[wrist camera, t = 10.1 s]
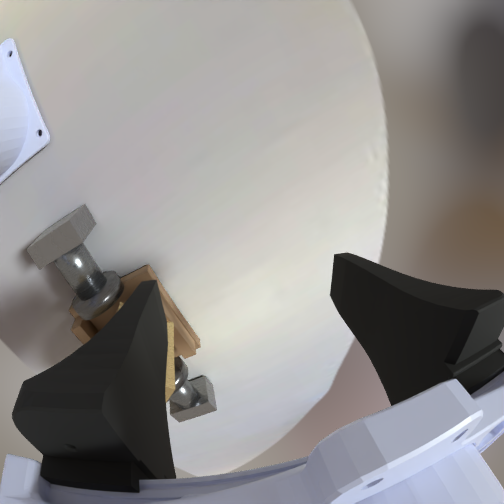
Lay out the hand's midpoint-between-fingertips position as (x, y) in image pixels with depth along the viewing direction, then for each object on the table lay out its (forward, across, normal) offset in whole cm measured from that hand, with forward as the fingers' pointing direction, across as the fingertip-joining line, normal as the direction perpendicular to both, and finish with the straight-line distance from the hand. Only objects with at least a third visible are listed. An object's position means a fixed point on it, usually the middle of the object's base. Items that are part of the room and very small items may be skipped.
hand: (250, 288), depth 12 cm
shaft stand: (+9, +8, +8) cm, 15 cm away
